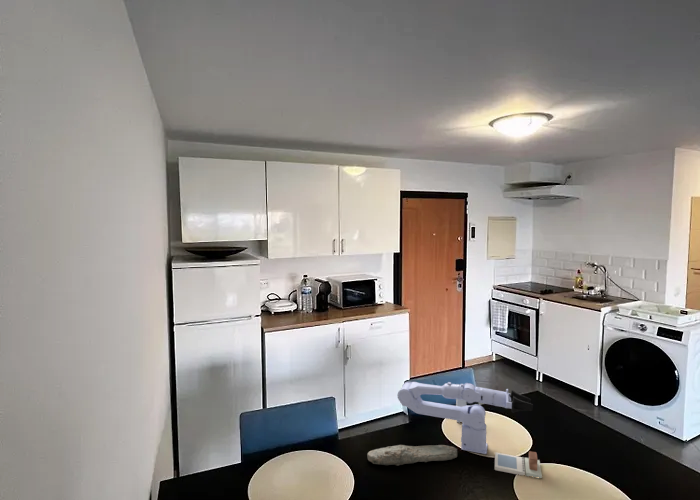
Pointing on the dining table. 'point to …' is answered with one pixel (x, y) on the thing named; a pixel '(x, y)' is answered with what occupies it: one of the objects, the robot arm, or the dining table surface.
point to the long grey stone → (411, 454)
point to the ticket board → (509, 463)
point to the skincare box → (460, 404)
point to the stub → (533, 465)
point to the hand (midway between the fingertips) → (531, 404)
